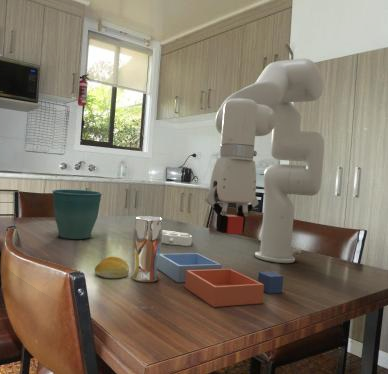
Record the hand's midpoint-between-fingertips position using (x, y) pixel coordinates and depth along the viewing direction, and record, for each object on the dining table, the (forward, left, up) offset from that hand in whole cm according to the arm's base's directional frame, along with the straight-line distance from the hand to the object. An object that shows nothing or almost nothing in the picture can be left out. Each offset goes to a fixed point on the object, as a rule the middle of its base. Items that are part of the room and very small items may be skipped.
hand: (229, 231), depth 86 cm
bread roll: (+23, -16, -14) cm, 31 cm away
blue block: (-11, +2, -14) cm, 18 cm away
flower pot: (+23, -64, -14) cm, 69 cm away
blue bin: (+3, -13, -14) cm, 19 cm away
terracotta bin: (+3, +3, -14) cm, 15 cm away
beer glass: (+16, -11, -14) cm, 24 cm away
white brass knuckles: (-12, -55, -14) cm, 58 cm away
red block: (0, 0, 0) cm, 0 cm away
